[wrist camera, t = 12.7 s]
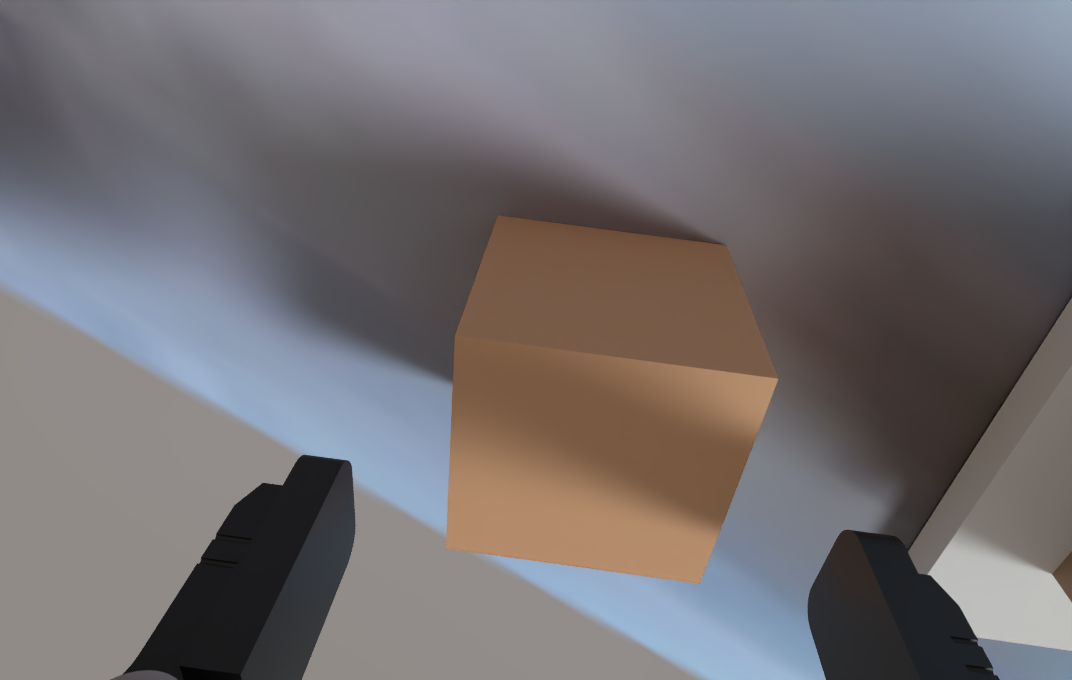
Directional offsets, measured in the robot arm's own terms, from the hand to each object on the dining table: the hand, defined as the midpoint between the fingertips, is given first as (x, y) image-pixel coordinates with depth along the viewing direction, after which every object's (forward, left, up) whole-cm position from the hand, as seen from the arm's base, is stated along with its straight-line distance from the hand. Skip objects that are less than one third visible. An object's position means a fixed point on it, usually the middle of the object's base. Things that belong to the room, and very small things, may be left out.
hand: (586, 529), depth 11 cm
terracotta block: (0, 0, -6) cm, 6 cm away
